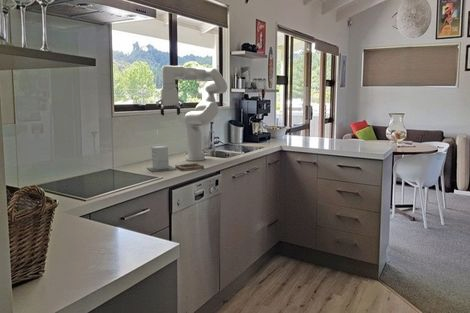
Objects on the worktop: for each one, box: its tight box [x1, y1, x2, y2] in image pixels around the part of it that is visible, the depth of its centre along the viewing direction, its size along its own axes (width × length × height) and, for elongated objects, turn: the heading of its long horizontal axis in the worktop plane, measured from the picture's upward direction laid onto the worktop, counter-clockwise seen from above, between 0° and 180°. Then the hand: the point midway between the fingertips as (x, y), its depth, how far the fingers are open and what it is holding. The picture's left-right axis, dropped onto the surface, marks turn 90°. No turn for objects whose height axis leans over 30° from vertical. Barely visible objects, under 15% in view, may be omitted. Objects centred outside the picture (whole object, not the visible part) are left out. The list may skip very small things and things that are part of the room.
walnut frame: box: [174, 162, 205, 172], centre depth 236 cm, size 13×13×2 cm
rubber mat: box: [146, 165, 178, 173], centre depth 235 cm, size 14×14×1 cm
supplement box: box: [151, 145, 170, 170], centre depth 235 cm, size 7×7×13 cm
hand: (170, 115), depth 248 cm, fingers open, 9 cm apart
